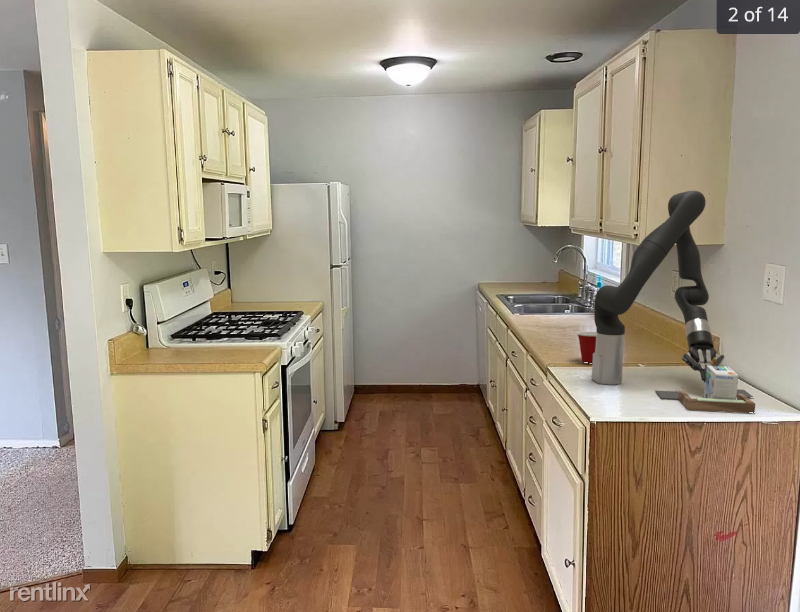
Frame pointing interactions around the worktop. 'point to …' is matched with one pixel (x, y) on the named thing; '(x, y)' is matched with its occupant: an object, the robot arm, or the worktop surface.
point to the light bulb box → (720, 383)
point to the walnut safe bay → (717, 403)
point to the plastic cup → (587, 345)
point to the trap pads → (675, 394)
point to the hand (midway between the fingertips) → (707, 381)
